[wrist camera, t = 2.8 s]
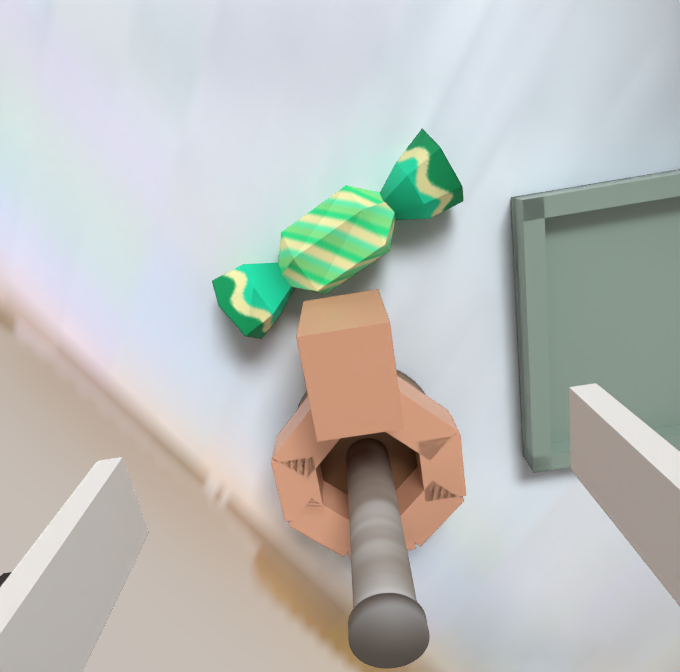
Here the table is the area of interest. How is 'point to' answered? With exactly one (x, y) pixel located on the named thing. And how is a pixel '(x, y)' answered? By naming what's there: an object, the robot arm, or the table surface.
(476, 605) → the table surface
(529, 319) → the tray
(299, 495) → the ring
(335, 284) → the candy
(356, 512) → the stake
